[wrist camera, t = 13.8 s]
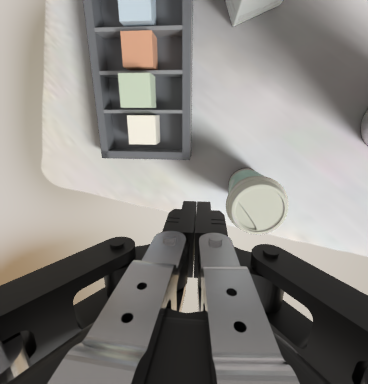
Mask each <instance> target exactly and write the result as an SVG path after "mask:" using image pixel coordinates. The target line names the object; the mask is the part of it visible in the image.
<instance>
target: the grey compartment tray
mask: <svg viewBox="0 0 368 384" xmlns="http://www.w3.org/2000/svg"><path fill="white" fill-rule="evenodd" d="M83 5H84V13H85V21H86V29H87V38H88V46H89V54H90V62H91V71H92V79H93V87H94V95H95V104H96V112H97V120H98V128H99V137H100V145H101V153H102V158H125V159H174V160H190V157H191V112H192V34H193V0H156V24H157V26H137V27H124V26H123V25H122V24H121V23H120V22H119V10H118V0H83ZM141 30H152V31H153V33H154V34H155V36H156V37H157V55H158V70H141V71H129V70H128V69H126V68H124V67H123V60H122V48H121V35H120V31H141ZM118 73H151V74H152V75H154V76H155V86H156V108H121V105H120V93H119V82H118ZM127 115H159V116H160V142H159V143H158V144H156V145H143V144H129V136H128V124H127Z"/></svg>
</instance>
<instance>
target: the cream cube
mask: <svg viewBox="0 0 368 384" xmlns="http://www.w3.org/2000/svg"><path fill="white" fill-rule="evenodd" d="M127 124H128V136H129V144H143V145H156V144H158V143H159V142H160V116H159V115H127Z"/></svg>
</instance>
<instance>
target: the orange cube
mask: <svg viewBox="0 0 368 384" xmlns="http://www.w3.org/2000/svg"><path fill="white" fill-rule="evenodd" d="M120 35H121V48H122V60H123V67H124V68H126V69H128V70H129V71H141V70H158V55H157V37H156V36H155V34H154V33H153V31H152V30H141V31H120Z"/></svg>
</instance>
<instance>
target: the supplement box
mask: <svg viewBox="0 0 368 384" xmlns="http://www.w3.org/2000/svg"><path fill="white" fill-rule="evenodd" d="M225 2H226V6H227V9H228V13H229V16H230V20H231V23H232V27H234V26H236V25H238V24H240V23H242V22H245V21H247V20H249V19H251V18H253V17H255V16H257V15H260V14H262V13H264V12H266V11H268V10H270V9H272V8H275V7H277V6H279V5H280V4H281V3H282V2H283V0H225Z"/></svg>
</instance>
